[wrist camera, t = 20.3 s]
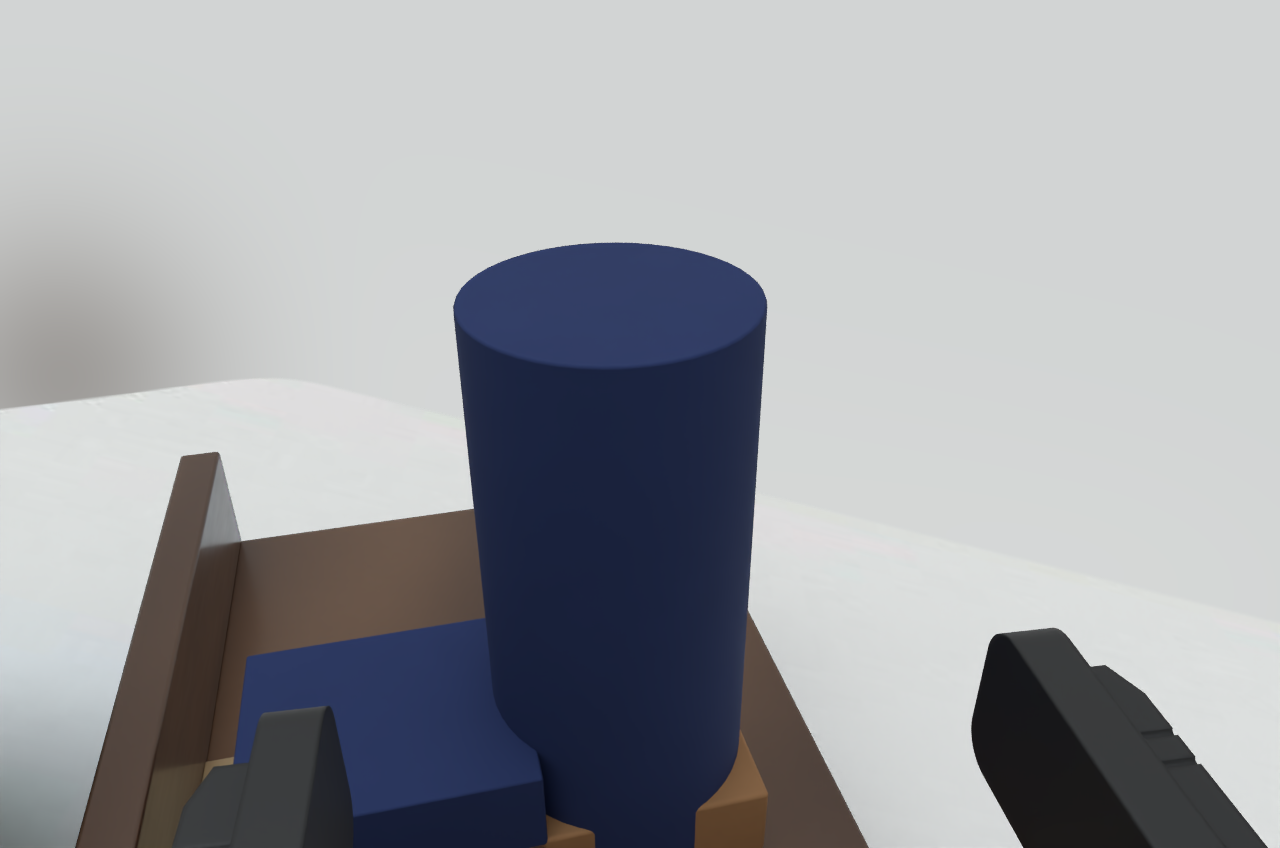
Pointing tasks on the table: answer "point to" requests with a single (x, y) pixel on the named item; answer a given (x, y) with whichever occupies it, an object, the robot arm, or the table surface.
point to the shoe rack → (331, 612)
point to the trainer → (573, 576)
